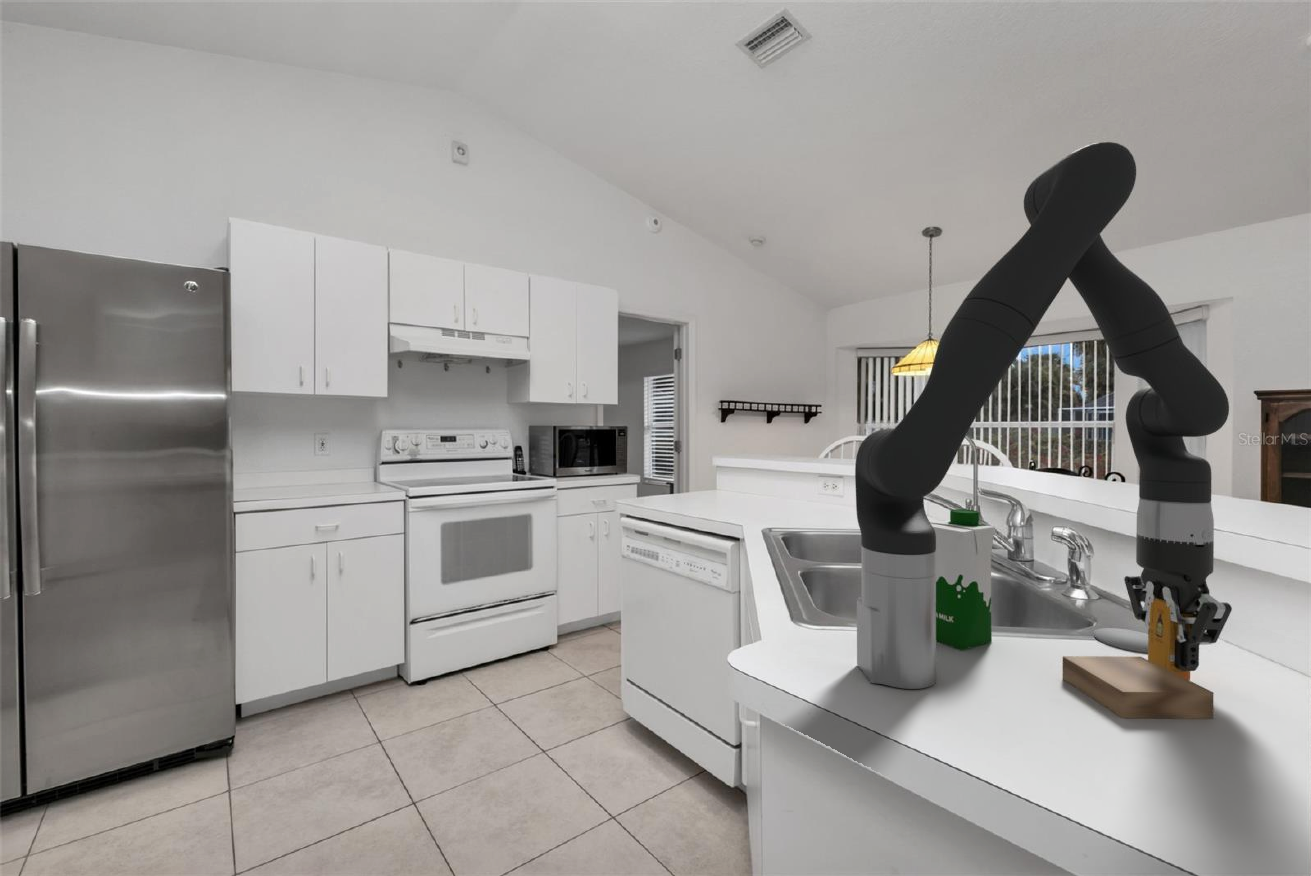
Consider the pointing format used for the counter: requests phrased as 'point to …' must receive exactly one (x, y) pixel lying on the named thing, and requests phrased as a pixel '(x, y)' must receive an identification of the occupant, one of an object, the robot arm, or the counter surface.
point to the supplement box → (1163, 637)
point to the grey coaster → (1123, 639)
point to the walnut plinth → (1137, 687)
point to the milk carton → (963, 580)
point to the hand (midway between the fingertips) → (1172, 662)
